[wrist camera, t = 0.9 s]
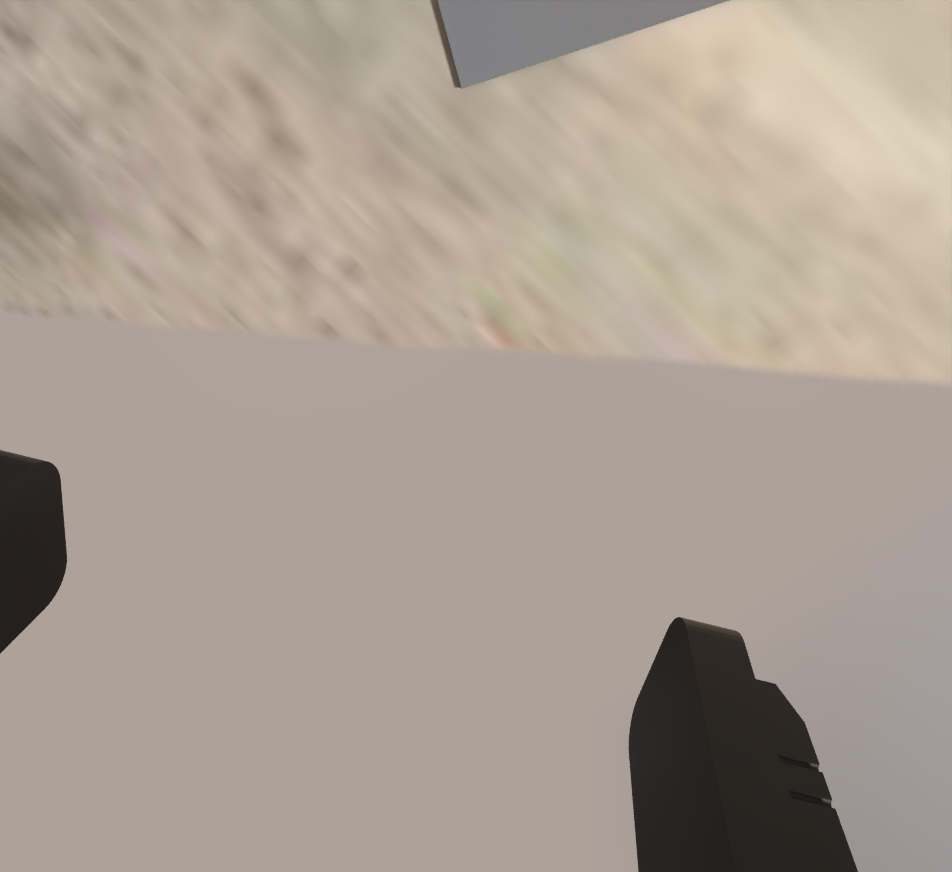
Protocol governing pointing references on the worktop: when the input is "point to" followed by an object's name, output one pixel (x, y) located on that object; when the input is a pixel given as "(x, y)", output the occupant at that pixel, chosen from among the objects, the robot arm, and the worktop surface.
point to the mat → (543, 29)
